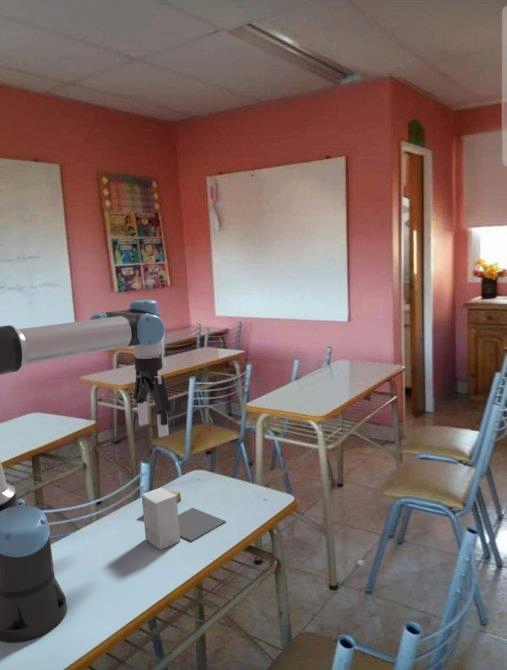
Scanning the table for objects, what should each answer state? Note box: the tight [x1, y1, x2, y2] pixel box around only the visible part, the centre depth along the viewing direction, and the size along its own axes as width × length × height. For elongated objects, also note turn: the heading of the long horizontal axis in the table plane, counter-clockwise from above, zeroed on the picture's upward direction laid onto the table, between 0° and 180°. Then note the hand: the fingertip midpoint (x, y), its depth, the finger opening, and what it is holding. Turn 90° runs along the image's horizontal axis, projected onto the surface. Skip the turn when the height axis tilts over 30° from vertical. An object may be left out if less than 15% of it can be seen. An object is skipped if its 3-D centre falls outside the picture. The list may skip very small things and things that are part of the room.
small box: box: [141, 487, 181, 551], centre depth 147 cm, size 8×6×13 cm
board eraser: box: [166, 489, 182, 505], centre depth 167 cm, size 12×5×3 cm, turn 152°
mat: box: [178, 507, 227, 543], centre depth 156 cm, size 13×14×1 cm
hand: (153, 430), depth 156 cm, fingers open, 13 cm apart
